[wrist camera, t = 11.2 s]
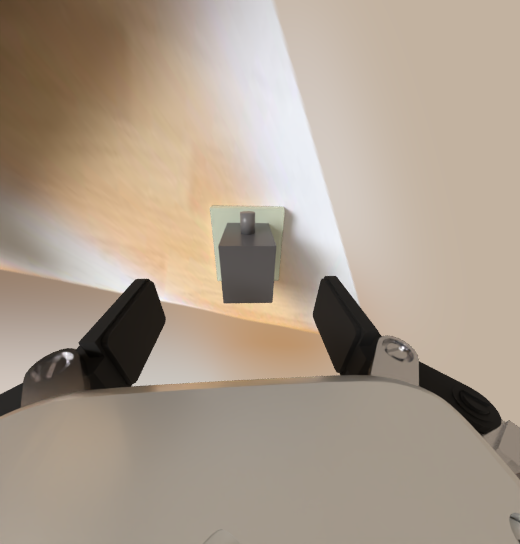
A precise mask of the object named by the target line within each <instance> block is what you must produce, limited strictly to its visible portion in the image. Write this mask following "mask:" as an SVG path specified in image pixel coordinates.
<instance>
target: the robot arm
mask: <svg viewBox="0 0 520 544" xmlns="http://www.w3.org/2000/svg"><path fill="white" fill-rule="evenodd" d="M313 318H314V321H315V323H316V326H317V328H318V330H319V333H320V335H321V337H322V340H323V342H324V344H325V347H326V349H327V352H328V354H329V356H330V359H331V361H332V363H333V366H334V368H335V370H336V372H338V373H340V376H315V377H314V376H313V377H295V378H294V377H292V378H273V379H255V380H234V381H218V382H200V383H199V382H198V383H183V384H165V385H149V386H134V387H131V386H132V384H134V383H136V381H137V380H138V378H139V376H140V374H141V371H142V370H143V367H144V365H145V363H146V361H147V359H148V357H149V355H150V353H151V351H152V349H153V347H154V345H155V343H156V341H157V338H158V337H159V334H160V332H161V330H162V328H163V326H164V324H165V320H166V319H165V315H164V312H163V309H162V306H161V303H160V300H159V297H158V294H157V291H156V288H155V285H154V283H153V282H152V281H150V280H149V279H136V280H134V282H133V283H132V284H131V285H130V286H129V287H128V288H127V289H126V290H125V292H124V293H123V294H122V295H121V296H120V297H119V298H118V299H117V300H116V302H115V303H114V304H113V305H112V306H111V307H110V308H109V309H108V311H107V312H106V313H105V314H104V315H103V316H102V317H101V318H100V319H99V320H98V322H97V323H96V324H95V325H94V326H93V327H92V328H91V329H90V330H89V332H88V333H87V334H86V335H85V336H84V337H83V338H82V339H81V340H80V342H79V345H80V346H79V347H78V348H77V349H76V350H75V349H72V348H71V349H69V348H67V349H63V350H59V351H56V352H53V353H51V354H49V355H47V356H45V357H44V358H42V359H41V360H39V361H38V362H36V363H35V364H34V365H33V366H32V367H31V368H30V369H29V370H28V372H27V373H26V374H25V377H24V381H23V383H22V384H20V385H18V386H16V387H14V388H12V389H10V390H8V391H6V392H4V393H2V394H0V544H520V428H519V427H518V426H517V425H515V424H514V423H512V422H511V421H510V420H509V421H507V422H505V421H503V420H502V419H501V417H500V415H499V413H498V411H497V410H496V408H495V407H494V406H493V405H492V404H491V403H490V402H489V401H488V400H487V399H486V398H485V397H484V396H482V395H481V394H480V393H478V392H477V391H475V390H473V389H472V388H470V387H468V386H466V385H464V384H462V383H460V382H458V381H456V380H454V379H453V378H451V377H449V376H447V375H445V374H443V373H441V372H439V371H437V370H435V369H433V368H431V367H429V366H427V365H425V364H423V363H421V362H419V359H418V355H417V353H416V352H415V350H414V349H413V348H412V347H411V346H410V345H409V344H407V343H406V342H405V341H403V340H401V339H399V338H396V337H393V336H381V335H380V334H379V332H378V330H377V329H376V328H375V326H374V325H373V324H372V322H371V321H370V320H369V319H368V317H367V316H366V314H365V313H364V312H363V311H362V309H361V308H360V307H359V305H358V304H357V303H356V301H355V300H354V299H353V298H352V296H351V295H350V294H349V292H348V291H347V290H346V288H345V287H344V286H343V284H342V283H341V282H340V281H339V279H338V278H337V277H336V276H325V277H324V279H321V282H320V286H319V290H318V294H317V298H316V303H315V307H314V311H313Z"/></svg>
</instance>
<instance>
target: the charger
mask: <svg viewBox="0 0 520 544" xmlns="http://www.w3.org/2000/svg"><path fill="white" fill-rule="evenodd" d="M218 249H219V259H220V270H221V280H222V291H223V302H224V303H272V300H273V286H274V273H275V259H276V243H275V241H274V238H273V235H272V232H271V229H270V226H269V223H255V212H252V211H243V212H240V223H227V225H226V227H225V230H224V232H223V235H222V238H221V240H220V243H219V245H218Z"/></svg>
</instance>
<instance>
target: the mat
mask: <svg viewBox="0 0 520 544" xmlns="http://www.w3.org/2000/svg"><path fill="white" fill-rule="evenodd" d="M243 211H252V212H255V223H269V226H270V229H271V232H272V235H273V238H274V241H275V243H276V259H275V273H274V281H278V280H279V270H280V259H281V247H282V236H283V225H284V213H285V209H284V207H273V206H211V207H210V214H211V223H212V233H213V242H214V251H215V261H216V270H217V280H218V281H222V280H221V270H220V259H219V249H218V245H219V243H220V240H221V238H222V235H223V232H224V230H225V227H226V225H227V223H240V212H243Z"/></svg>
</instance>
